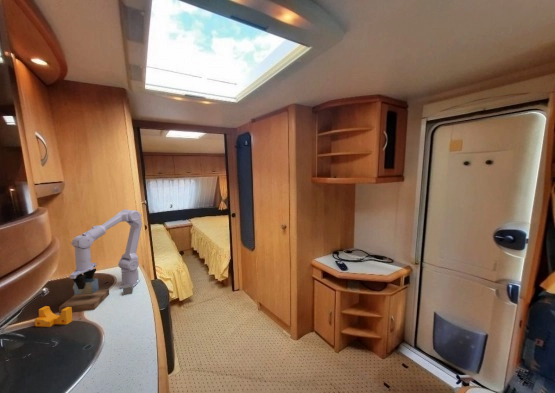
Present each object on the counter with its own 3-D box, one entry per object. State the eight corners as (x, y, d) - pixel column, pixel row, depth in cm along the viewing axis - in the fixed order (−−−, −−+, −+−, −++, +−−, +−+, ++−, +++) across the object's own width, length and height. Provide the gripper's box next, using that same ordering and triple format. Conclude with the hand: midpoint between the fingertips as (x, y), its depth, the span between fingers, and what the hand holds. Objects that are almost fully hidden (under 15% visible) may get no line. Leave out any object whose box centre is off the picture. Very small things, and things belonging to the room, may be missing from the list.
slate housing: (79, 290, 112) (78, 278, 111) (98, 289, 113) (98, 278, 112) (71, 294, 108) (71, 283, 107) (92, 294, 109) (91, 282, 108)
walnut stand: (78, 297, 116) (78, 291, 116) (109, 294, 119) (108, 289, 119) (59, 313, 102) (58, 307, 102) (94, 309, 106) (94, 303, 105)
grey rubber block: (124, 292, 122) (123, 285, 122) (132, 290, 124) (132, 283, 124) (123, 295, 119) (122, 288, 118) (132, 293, 120) (131, 286, 120)
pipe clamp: (35, 326, 94) (34, 312, 93) (46, 320, 98) (45, 306, 97) (62, 327, 93) (61, 313, 93) (72, 321, 97) (71, 307, 97)
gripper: (80, 265, 102) (82, 293, 103) (102, 254, 116) (103, 279, 118) (64, 265, 101) (66, 294, 102) (87, 254, 116) (89, 279, 117)
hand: (85, 286), depth 110 cm, fingers closed on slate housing, 4 cm apart
